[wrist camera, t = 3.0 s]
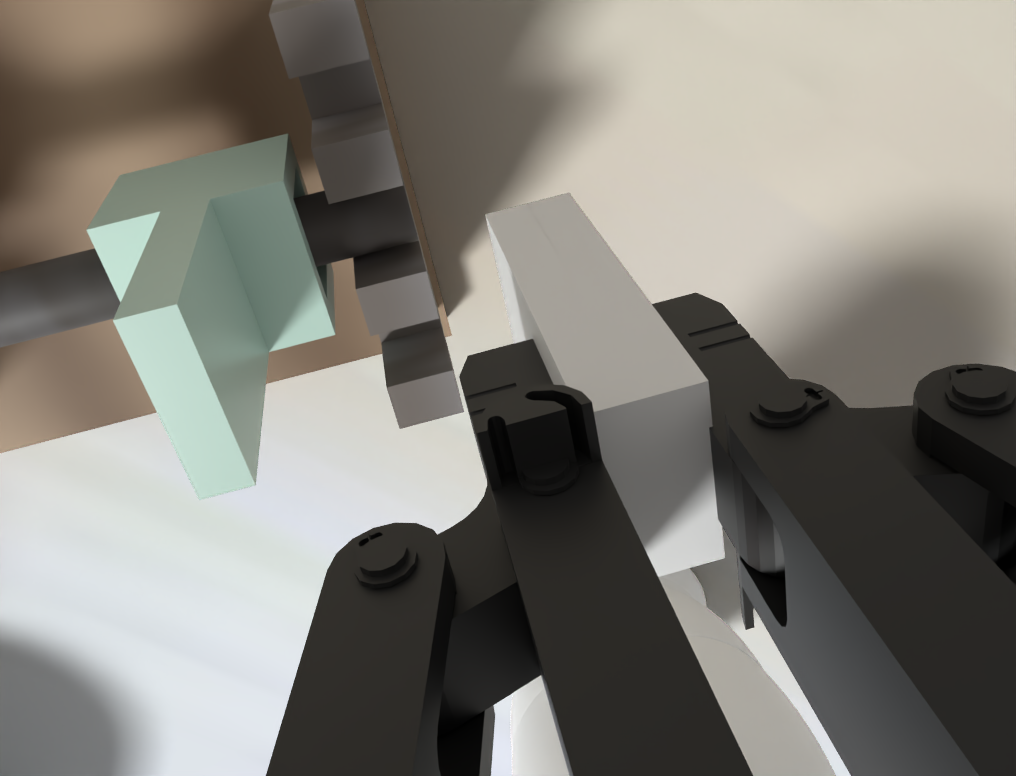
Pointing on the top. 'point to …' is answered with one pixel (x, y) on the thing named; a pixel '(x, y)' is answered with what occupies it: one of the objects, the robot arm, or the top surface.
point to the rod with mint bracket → (184, 134)
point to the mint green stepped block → (213, 295)
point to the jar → (736, 685)
